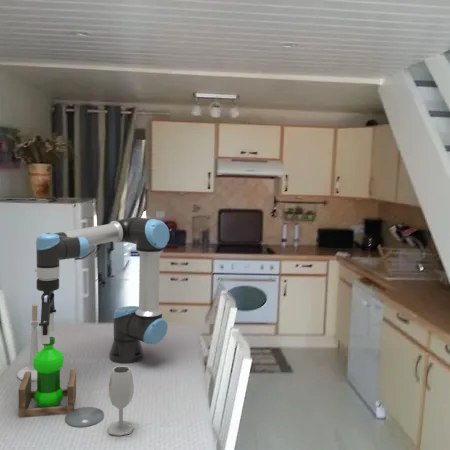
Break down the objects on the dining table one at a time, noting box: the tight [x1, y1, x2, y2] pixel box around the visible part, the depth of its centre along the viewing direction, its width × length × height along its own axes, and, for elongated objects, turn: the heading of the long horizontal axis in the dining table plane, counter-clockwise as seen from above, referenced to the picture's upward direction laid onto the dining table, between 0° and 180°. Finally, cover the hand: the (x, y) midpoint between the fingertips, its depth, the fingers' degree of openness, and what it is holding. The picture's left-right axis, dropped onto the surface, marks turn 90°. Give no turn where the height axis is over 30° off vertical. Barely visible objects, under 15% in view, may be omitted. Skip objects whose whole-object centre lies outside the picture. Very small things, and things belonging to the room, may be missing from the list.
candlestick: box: [16, 303, 40, 382], centre depth 203 cm, size 13×13×30 cm
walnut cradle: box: [17, 368, 77, 419], centre depth 179 cm, size 18×15×10 cm
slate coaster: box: [64, 406, 105, 428], centre depth 172 cm, size 13×13×1 cm
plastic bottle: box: [33, 336, 64, 408], centre depth 178 cm, size 10×10×25 cm
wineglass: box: [106, 365, 135, 437], centre depth 164 cm, size 9×9×21 cm
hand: (47, 336), depth 177 cm, fingers open, 13 cm apart
